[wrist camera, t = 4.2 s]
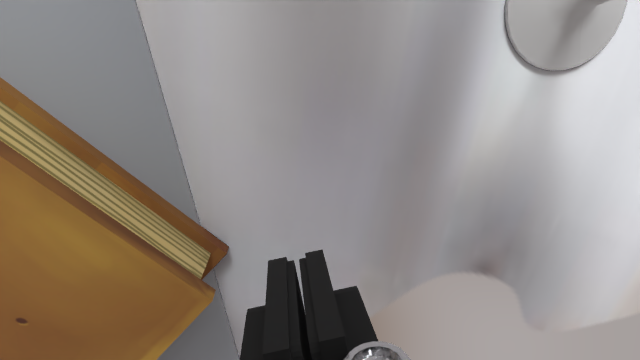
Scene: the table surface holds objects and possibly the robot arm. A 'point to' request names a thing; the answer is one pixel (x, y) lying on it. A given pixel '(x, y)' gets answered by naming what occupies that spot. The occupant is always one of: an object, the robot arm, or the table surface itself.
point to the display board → (109, 112)
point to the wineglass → (561, 30)
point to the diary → (89, 249)
